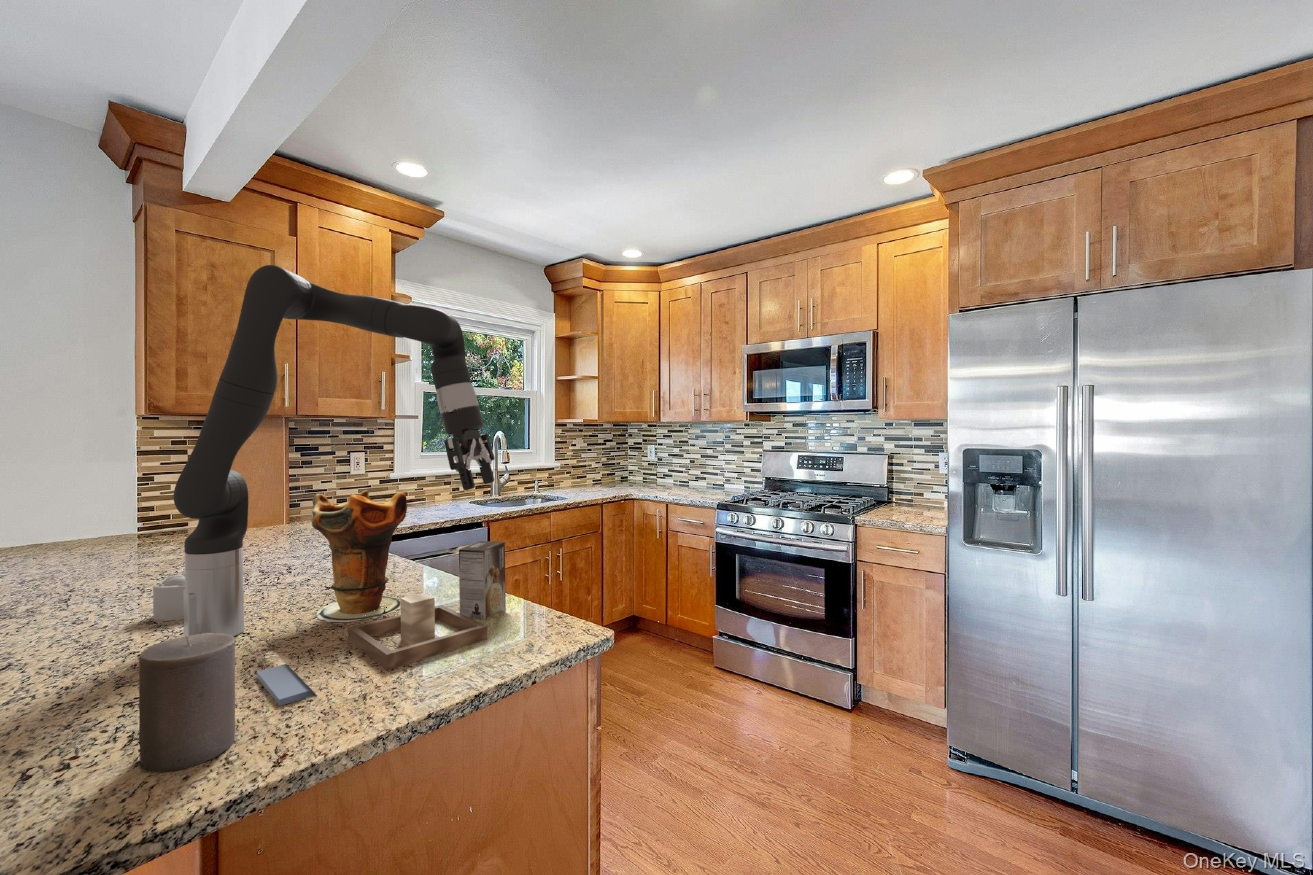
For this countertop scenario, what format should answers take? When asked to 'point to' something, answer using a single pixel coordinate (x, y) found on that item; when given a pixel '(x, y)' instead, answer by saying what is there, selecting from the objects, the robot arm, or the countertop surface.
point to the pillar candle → (186, 701)
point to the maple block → (417, 618)
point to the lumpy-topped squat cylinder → (169, 598)
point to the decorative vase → (358, 553)
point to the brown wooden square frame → (422, 650)
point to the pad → (284, 684)
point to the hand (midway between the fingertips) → (479, 486)
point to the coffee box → (482, 579)
